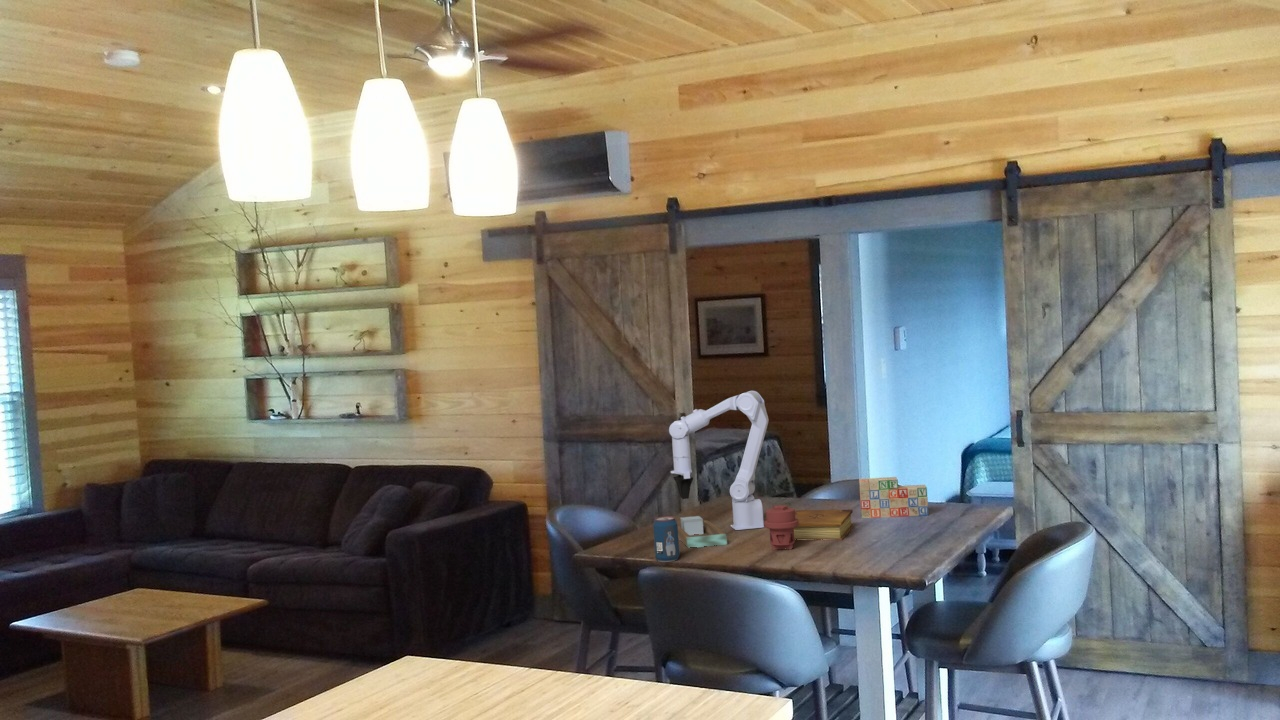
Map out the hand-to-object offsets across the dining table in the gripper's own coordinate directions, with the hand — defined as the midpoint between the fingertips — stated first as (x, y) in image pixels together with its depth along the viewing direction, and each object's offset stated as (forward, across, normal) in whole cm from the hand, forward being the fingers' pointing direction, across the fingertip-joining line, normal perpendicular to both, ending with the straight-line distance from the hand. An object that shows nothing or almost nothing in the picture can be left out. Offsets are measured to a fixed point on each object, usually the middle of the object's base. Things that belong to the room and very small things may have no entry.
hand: (684, 498), depth 371 cm
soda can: (+10, +47, -14) cm, 50 cm away
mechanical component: (+10, +47, +20) cm, 52 cm away
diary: (+11, +29, +36) cm, 47 cm away
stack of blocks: (+10, +12, +67) cm, 69 cm away
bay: (+10, +19, 0) cm, 21 cm away
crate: (+10, +10, 0) cm, 14 cm away
